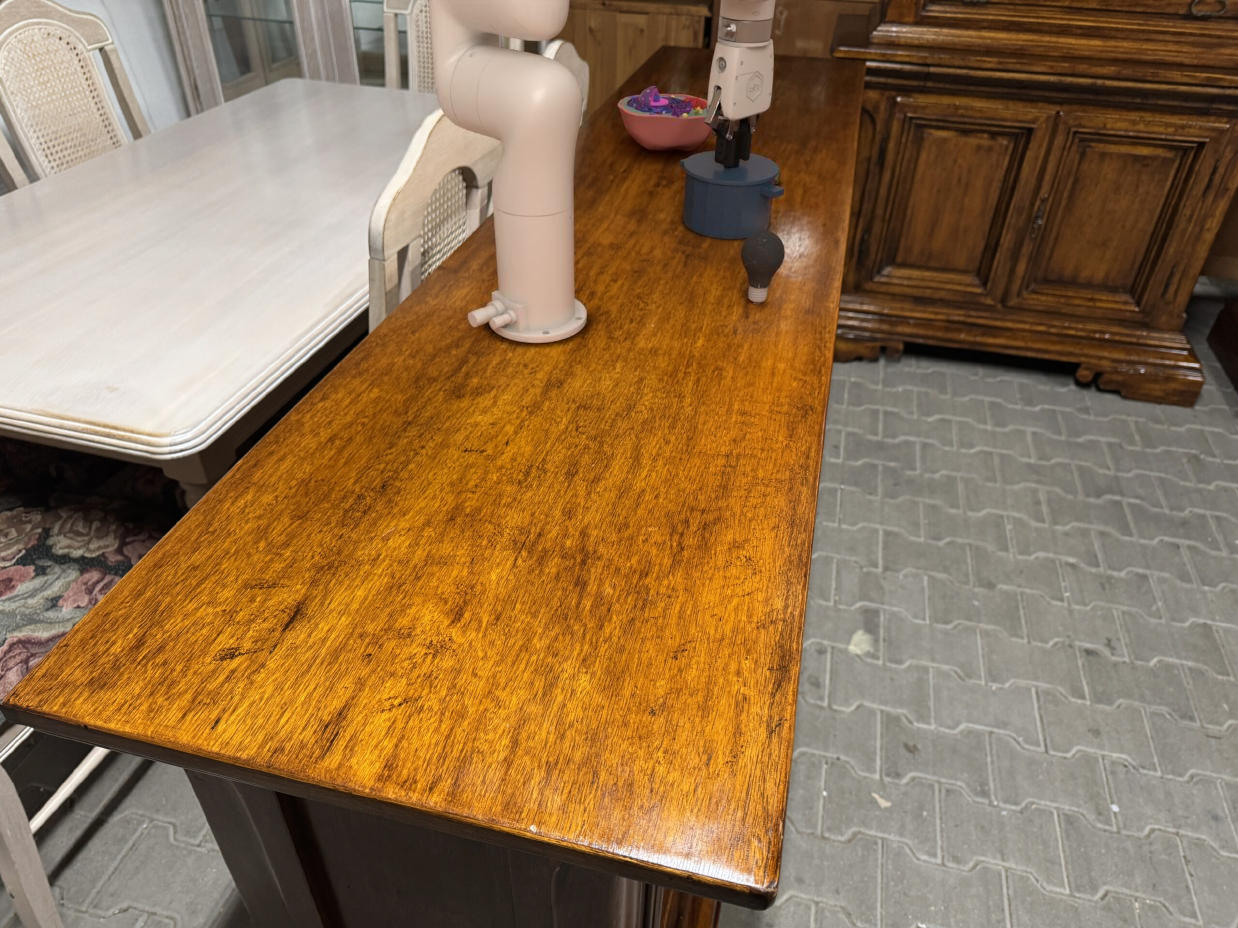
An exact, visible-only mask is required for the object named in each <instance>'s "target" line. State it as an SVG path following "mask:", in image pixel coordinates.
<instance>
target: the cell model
mask: <svg viewBox="0 0 1238 928" xmlns="http://www.w3.org/2000/svg"><path fill="white" fill-rule="evenodd" d="M659 91H660V90H659V87H658V86H657V85H651V86H648V87H646V88H645V89H643V91H641V92H640V94H635V95H630V96H625V97H624V98H621V99H620V100H619V101H618V103H617V107H618V110H619V113H620V116H621V119H622V123H623V125H624V128H625V130H626V132H627V133H628V134H629V135H630V137H632V139H633V140H634V141H635V142H636V143H637V144H638V145H640V146H641V147H642V148H644V149H646V150H648V151H649V152H650V151H651V152H659V151H660V152H663V151H665V152H666V151H672V150H673V151H678V152H679V151H680V152H693V151H695V150H697V149H698V148H700V147H701V146H702V145H704V144H705V143H706V142H707V141H708V140H709V139H710V138H711V137H712V135H713V134H714V131H713V129H712V128H711V127H710V126H708V125H707V124H705V118H706V115H707V113H708V107H707V101H708V99H705V98H701V97H698V96H695V95H694V96H693V95H690V94H683V93H676V94H673V93H671V94H670V93H659Z"/></svg>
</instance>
